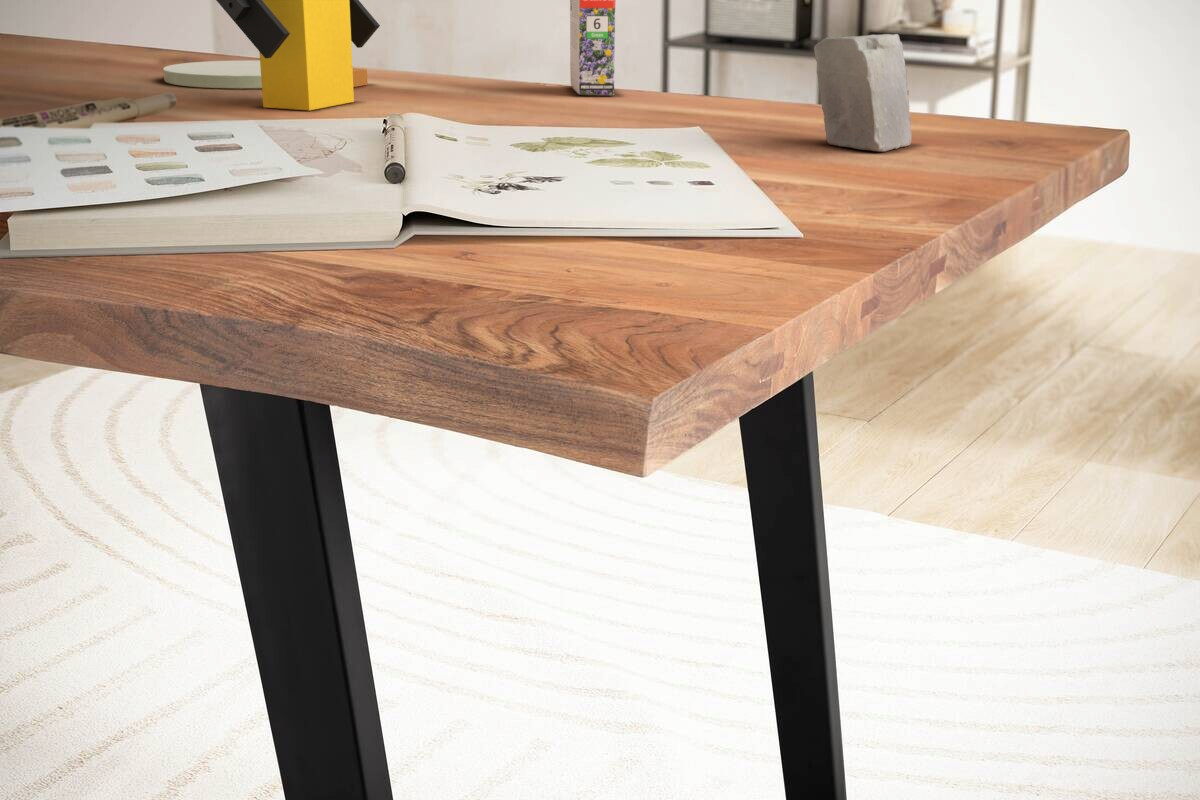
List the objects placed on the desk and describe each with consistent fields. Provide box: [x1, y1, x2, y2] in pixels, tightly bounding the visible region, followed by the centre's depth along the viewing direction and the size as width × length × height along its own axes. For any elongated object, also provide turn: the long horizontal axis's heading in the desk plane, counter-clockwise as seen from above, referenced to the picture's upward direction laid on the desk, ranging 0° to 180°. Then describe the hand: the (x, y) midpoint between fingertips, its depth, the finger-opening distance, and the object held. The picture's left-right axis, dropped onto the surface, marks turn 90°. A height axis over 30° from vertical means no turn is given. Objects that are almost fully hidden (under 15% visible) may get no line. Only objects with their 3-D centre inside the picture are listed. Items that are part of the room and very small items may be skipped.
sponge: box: [258, 0, 355, 112], centre depth 106 cm, size 4×7×11 cm, turn 159°
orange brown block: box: [352, 67, 368, 88], centre depth 122 cm, size 3×4×2 cm
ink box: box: [569, 0, 616, 96], centre depth 119 cm, size 4×8×15 cm, turn 7°
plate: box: [162, 59, 262, 90], centre depth 126 cm, size 16×16×1 cm
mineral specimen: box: [813, 32, 913, 152], centre depth 91 cm, size 7×9×8 cm
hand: (326, 41), depth 105 cm, fingers open, 13 cm apart
